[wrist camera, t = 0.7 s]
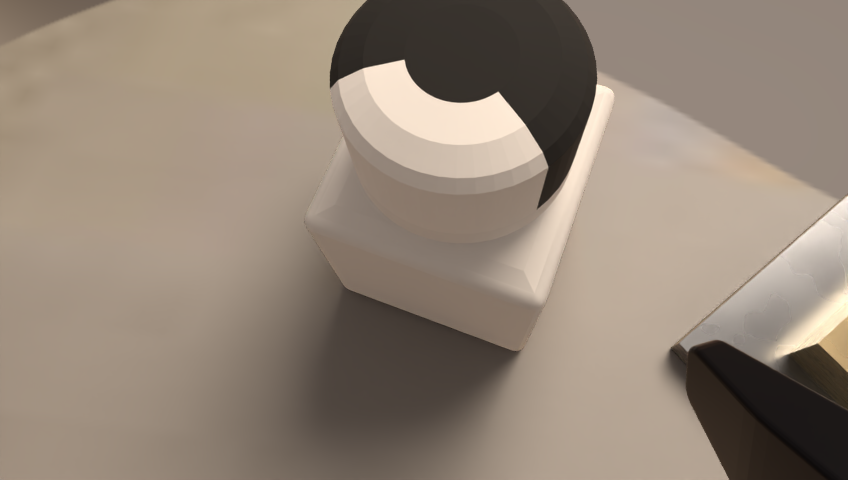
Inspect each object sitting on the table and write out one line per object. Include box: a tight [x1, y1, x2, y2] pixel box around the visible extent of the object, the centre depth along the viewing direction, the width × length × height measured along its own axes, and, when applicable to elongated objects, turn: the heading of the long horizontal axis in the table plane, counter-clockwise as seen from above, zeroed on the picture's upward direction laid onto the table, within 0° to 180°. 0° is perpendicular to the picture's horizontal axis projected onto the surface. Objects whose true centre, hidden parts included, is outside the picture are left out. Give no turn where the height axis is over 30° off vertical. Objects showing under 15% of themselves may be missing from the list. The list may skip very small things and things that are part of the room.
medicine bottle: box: [304, 0, 614, 351], centre depth 20 cm, size 7×7×12 cm
